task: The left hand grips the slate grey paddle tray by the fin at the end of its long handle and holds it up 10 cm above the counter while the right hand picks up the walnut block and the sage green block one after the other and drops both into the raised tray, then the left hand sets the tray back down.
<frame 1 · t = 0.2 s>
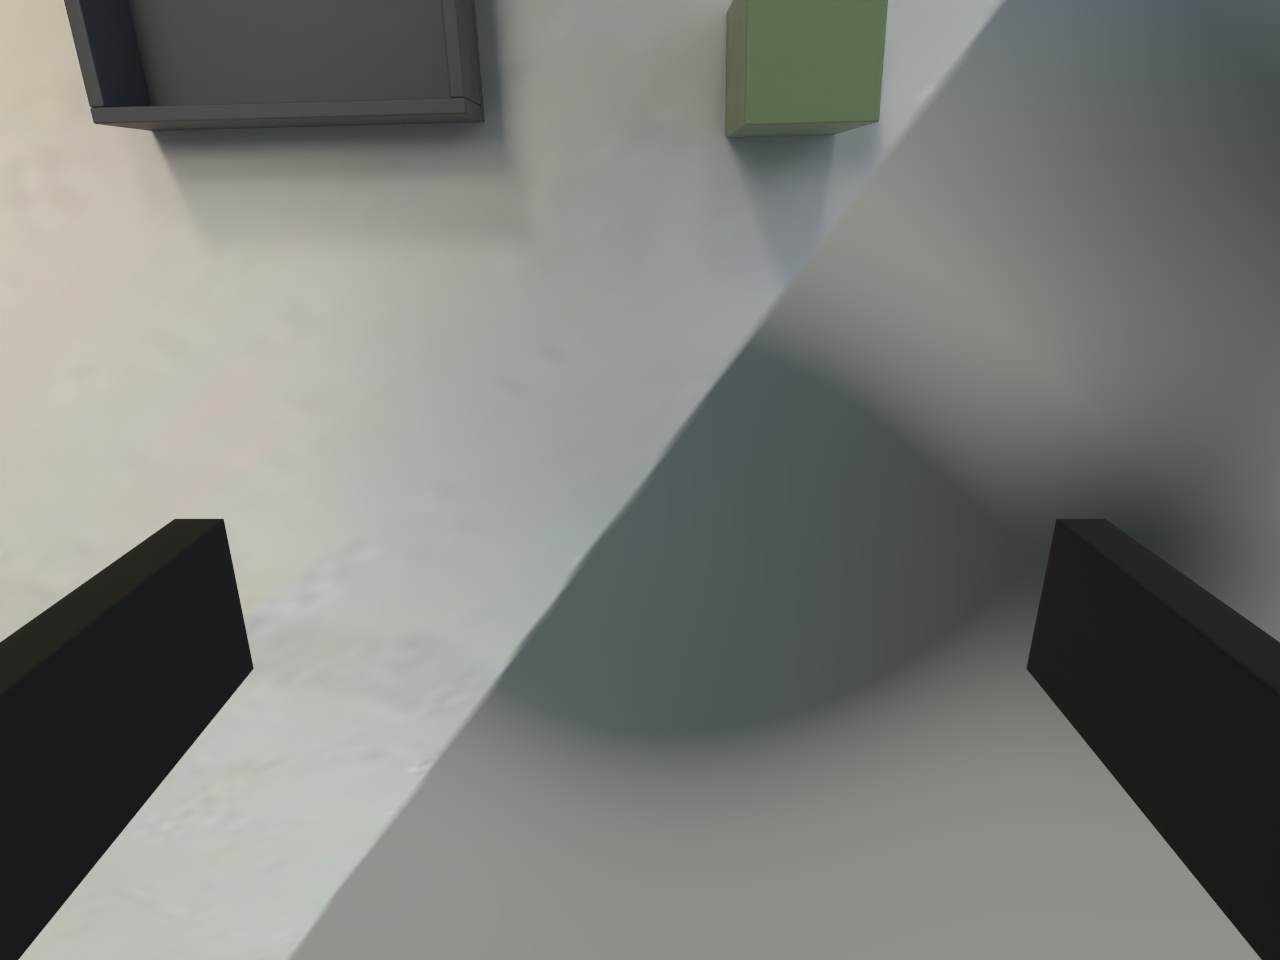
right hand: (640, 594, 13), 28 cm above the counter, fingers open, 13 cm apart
sage block: (782, 74, 35), on the counter
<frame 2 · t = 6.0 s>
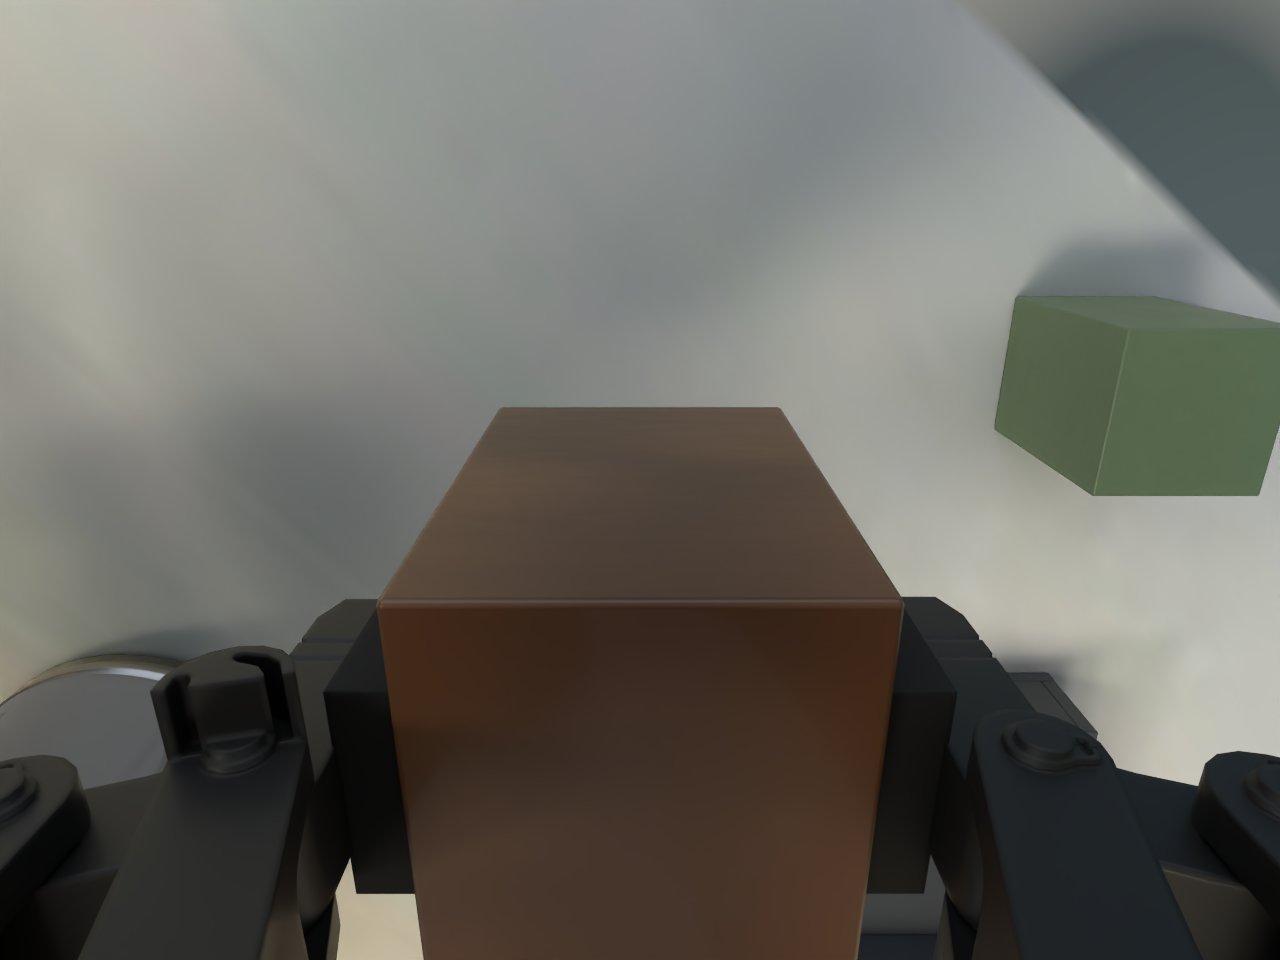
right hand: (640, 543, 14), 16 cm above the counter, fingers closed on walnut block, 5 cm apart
sage block: (1071, 364, 29), on the counter
walnut block: (640, 535, 15), point 15 cm above the counter, touching right hand
tray: (812, 811, 36), on the counter, touching left hand
when the right hand's fingers open (16 cm above the counter, at t = 11.2 s): walnut block drops 5 cm, resting on tray.
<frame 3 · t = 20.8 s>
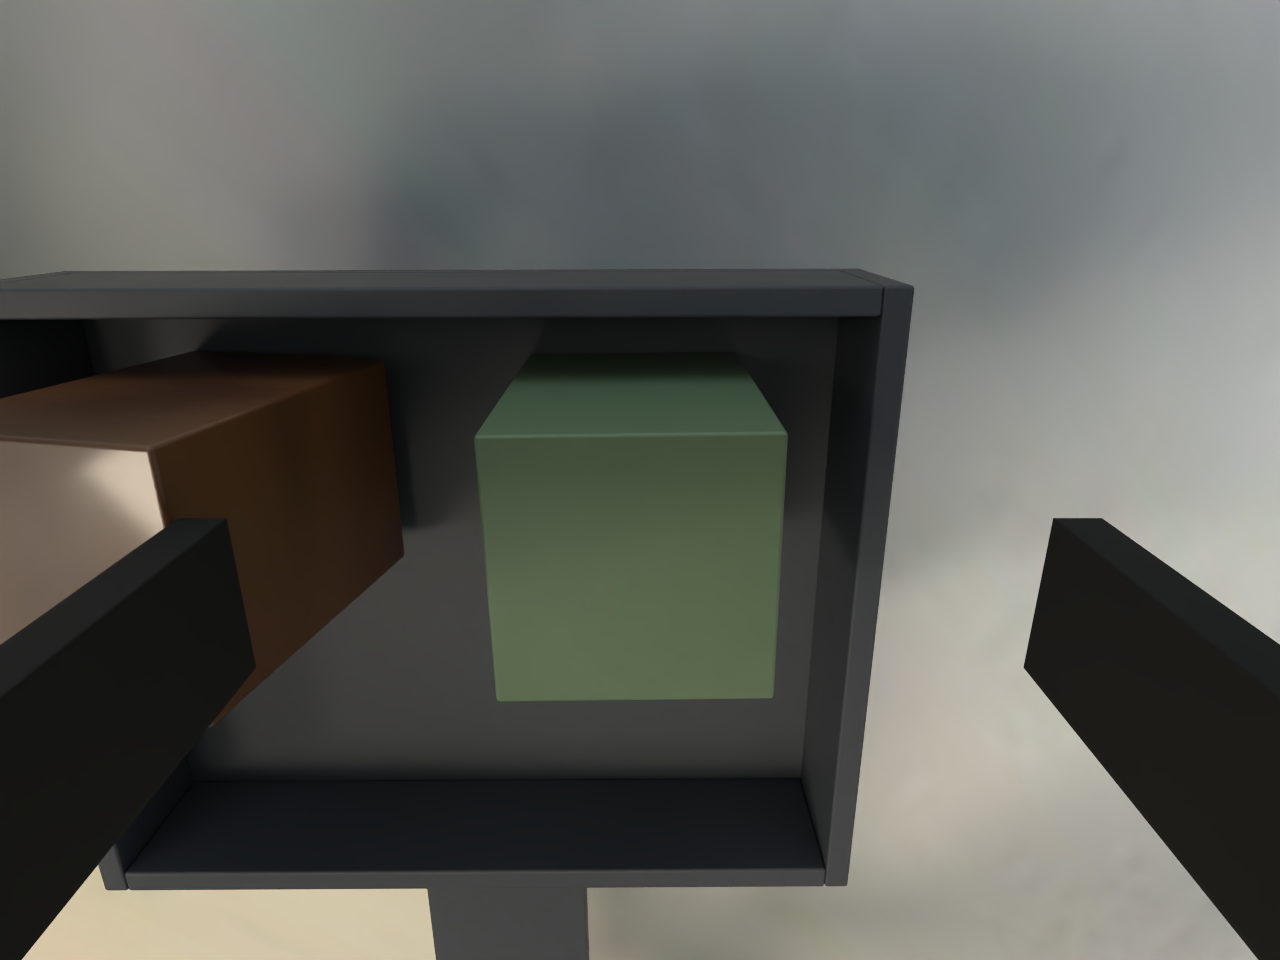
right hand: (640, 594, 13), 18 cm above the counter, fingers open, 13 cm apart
sage block: (634, 450, 20), point 10 cm above the counter, touching tray
walnut block: (302, 455, 19), point 11 cm above the counter, tilted 11°, touching right hand, tray
tray: (484, 556, 21), point 9 cm above the counter, touching left hand, sage block, walnut block
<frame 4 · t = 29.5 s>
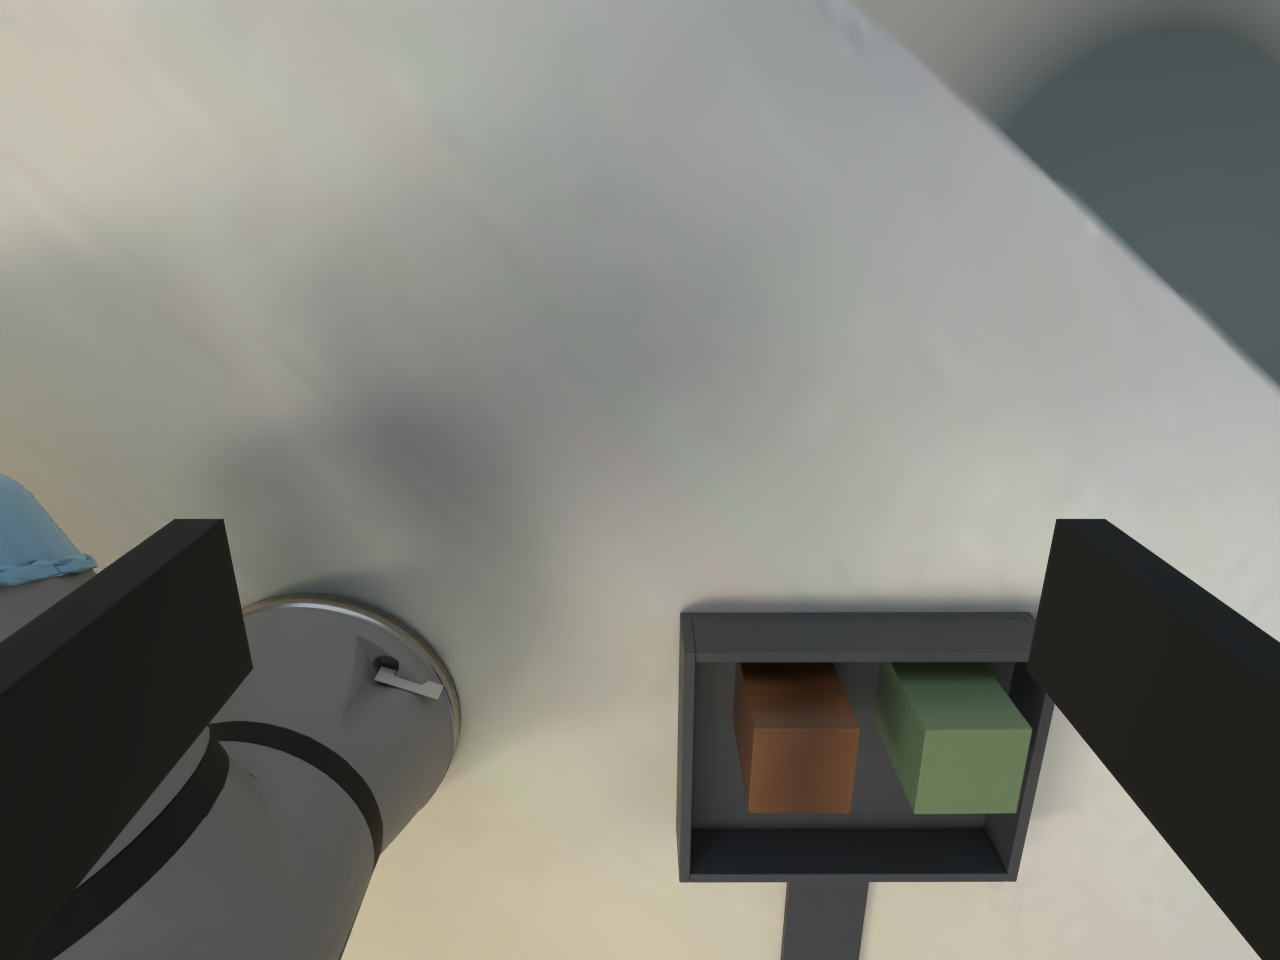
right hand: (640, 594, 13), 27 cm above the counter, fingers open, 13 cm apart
sage block: (922, 686, 44), point 1 cm above the counter, touching tray
walnut block: (779, 685, 44), point 1 cm above the counter, touching tray
tray: (842, 726, 46), on the counter, touching sage block, walnut block
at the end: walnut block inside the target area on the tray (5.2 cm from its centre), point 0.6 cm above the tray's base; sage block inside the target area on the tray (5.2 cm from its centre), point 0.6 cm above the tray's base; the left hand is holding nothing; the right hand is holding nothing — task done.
